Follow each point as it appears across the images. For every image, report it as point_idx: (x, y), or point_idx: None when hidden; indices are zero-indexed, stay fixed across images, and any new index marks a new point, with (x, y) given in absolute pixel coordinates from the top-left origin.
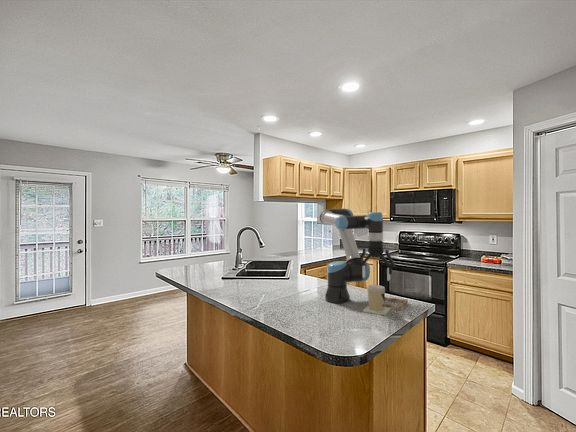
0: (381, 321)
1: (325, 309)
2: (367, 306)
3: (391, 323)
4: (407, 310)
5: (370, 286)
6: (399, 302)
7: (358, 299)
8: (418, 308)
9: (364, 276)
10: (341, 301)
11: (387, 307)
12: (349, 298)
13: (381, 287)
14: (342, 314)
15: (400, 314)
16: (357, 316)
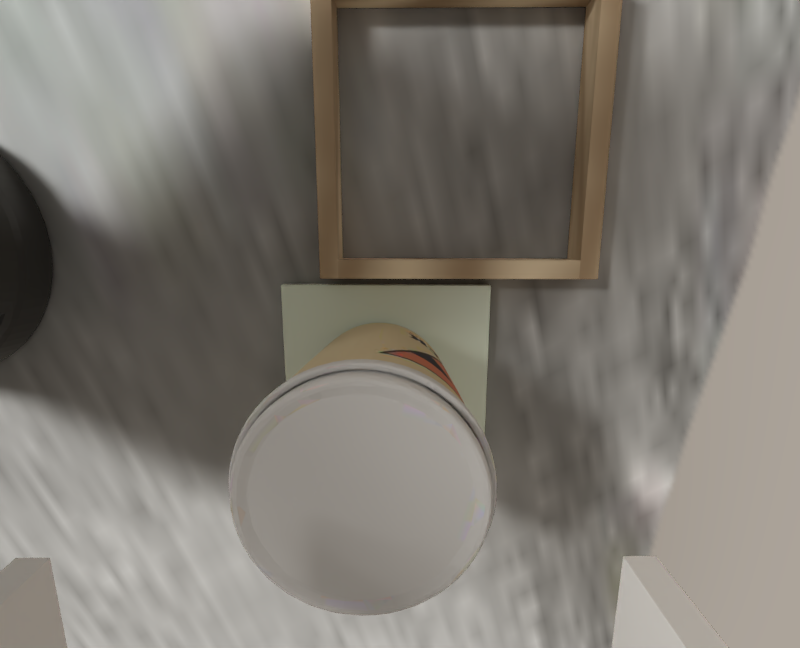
0: (484, 597)
1: (16, 555)
2: (286, 359)
3: (555, 601)
4: (630, 249)
5: (265, 496)
6: (522, 5)
7: (96, 119)
8: (724, 129)
9: (42, 635)
10: (11, 347)
11: (458, 298)
12: (26, 229)
13: (441, 480)
14: (187, 594)
15: (586, 389)
16: None
